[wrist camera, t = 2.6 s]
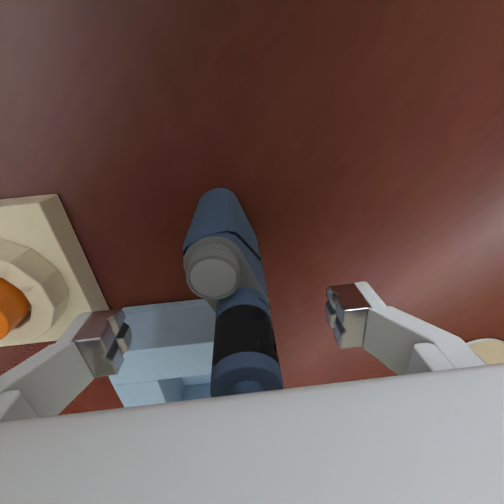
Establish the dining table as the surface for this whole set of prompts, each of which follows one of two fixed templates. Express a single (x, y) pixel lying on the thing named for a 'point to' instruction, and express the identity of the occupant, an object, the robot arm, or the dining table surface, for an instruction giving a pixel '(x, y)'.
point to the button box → (45, 268)
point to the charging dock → (167, 353)
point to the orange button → (11, 307)
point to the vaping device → (232, 295)
